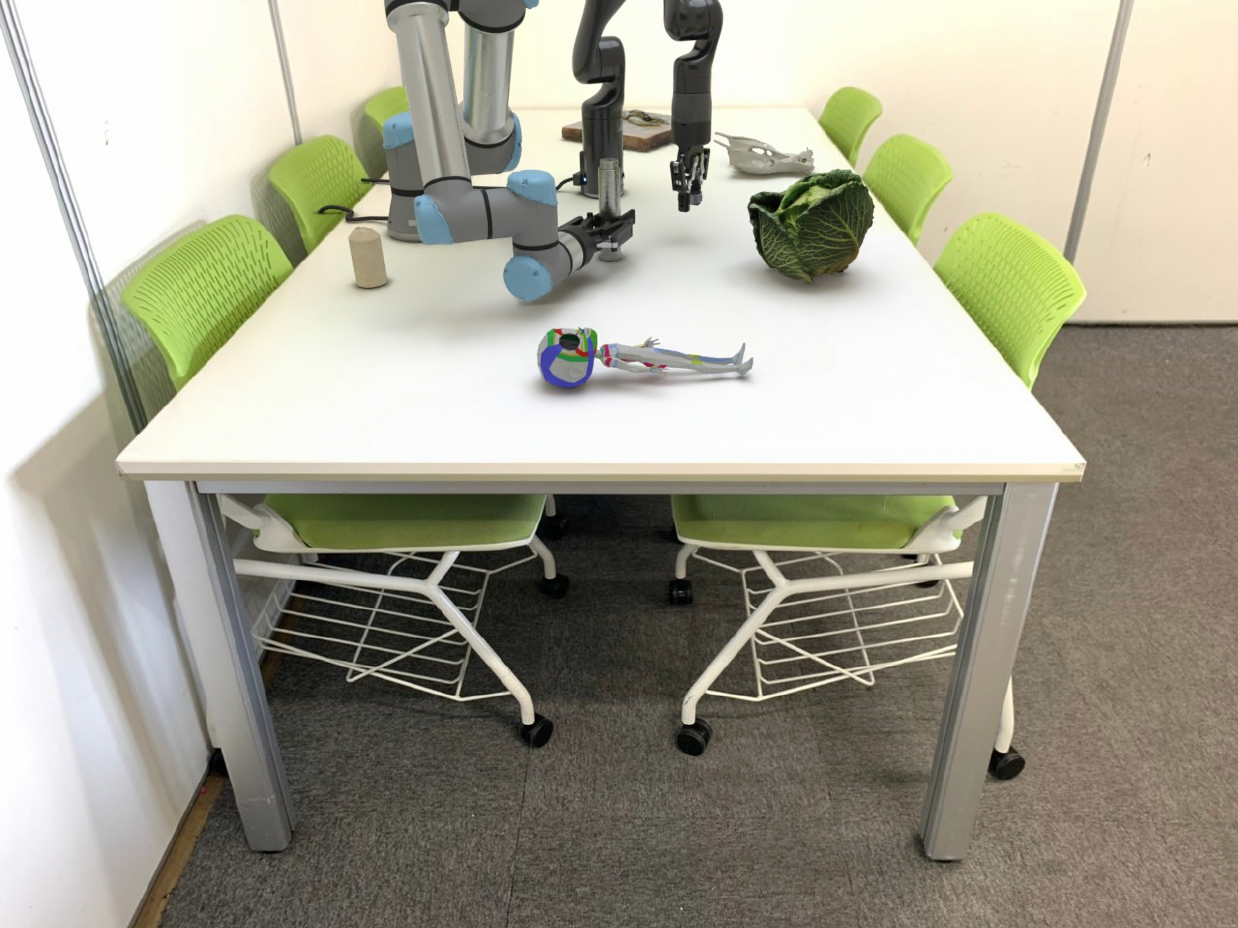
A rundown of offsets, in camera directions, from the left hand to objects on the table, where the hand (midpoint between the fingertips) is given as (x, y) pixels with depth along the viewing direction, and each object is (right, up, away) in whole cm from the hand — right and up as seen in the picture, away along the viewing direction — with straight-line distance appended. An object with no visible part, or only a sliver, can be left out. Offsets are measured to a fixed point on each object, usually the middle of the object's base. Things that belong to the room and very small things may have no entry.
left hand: (622, 214), depth 172 cm
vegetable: (+34, -14, -10) cm, 37 cm away
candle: (-45, -15, -10) cm, 49 cm away
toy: (+3, -36, -44) cm, 56 cm away
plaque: (+4, +47, +87) cm, 99 cm away
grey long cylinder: (-2, -8, 0) cm, 9 cm away
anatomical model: (+35, +25, +51) cm, 67 cm away
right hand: (+13, +2, +4) cm, 14 cm away
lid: (+13, +5, +2) cm, 14 cm away
